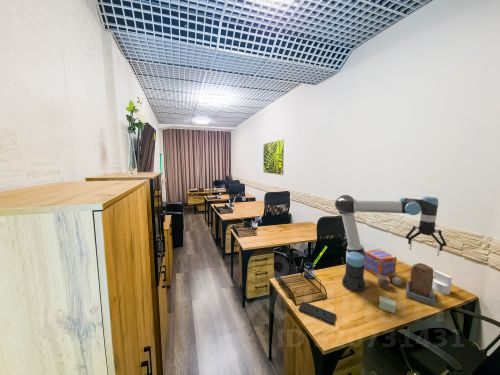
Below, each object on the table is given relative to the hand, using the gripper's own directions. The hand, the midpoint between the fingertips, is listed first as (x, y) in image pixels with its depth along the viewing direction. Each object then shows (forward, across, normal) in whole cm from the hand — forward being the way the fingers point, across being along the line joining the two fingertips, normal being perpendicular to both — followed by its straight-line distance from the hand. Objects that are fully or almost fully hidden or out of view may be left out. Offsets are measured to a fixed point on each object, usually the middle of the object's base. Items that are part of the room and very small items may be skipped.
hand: (423, 252), depth 131 cm
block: (+29, 0, 0) cm, 29 cm away
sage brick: (+30, -15, -29) cm, 45 cm away
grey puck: (+30, -12, +5) cm, 33 cm away
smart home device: (+31, -47, -60) cm, 83 cm away
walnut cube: (+30, -19, -3) cm, 36 cm away
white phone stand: (+30, +13, +16) cm, 37 cm away
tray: (+30, +1, 0) cm, 30 cm away
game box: (+31, -24, +16) cm, 42 cm away
